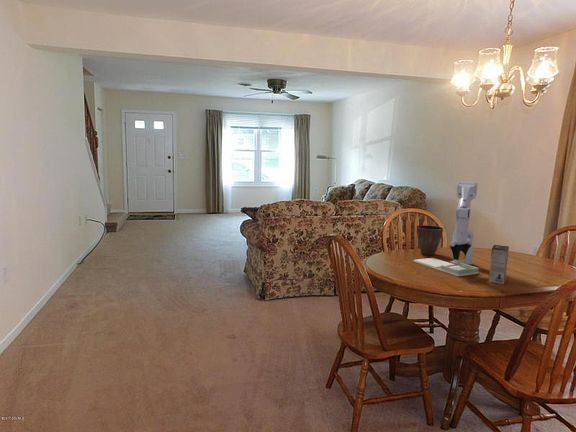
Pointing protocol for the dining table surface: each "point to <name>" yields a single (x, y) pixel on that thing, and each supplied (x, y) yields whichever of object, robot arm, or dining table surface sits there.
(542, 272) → the dining table surface
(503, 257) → the coffee box
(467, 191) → the robot arm
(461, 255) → the ball
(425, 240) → the plant pot
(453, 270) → the board
